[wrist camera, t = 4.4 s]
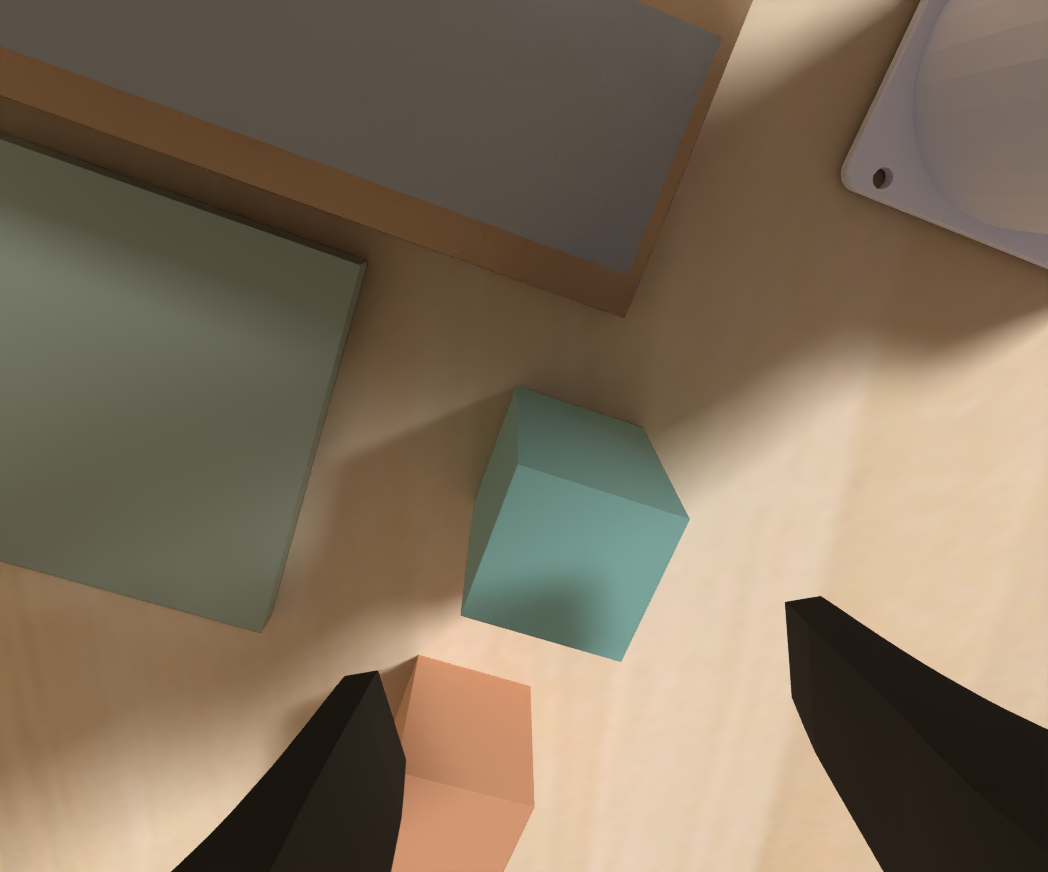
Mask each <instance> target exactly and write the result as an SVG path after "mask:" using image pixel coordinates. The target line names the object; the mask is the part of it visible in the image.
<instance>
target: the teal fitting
mask: <svg viewBox="0 0 1048 872" xmlns="http://www.w3.org/2000/svg"><path fill="white" fill-rule="evenodd" d="M689 520H690V519H689V517H688V515H687V513H686V511H685V509H684V507H683V505H682V503H681V501H680V499H679V497H678V495H677V493H676V492H675V490H674V488H673V486H672V484H671V482H670V480H669V478H668V476H667V474H666V472H665V470H664V468H663V466H662V464H661V462H660V460H659V458H658V456H657V454H656V452H655V450H654V448H653V447H652V445H651V443H650V441H649V439H648V437H647V435H646V433H645V431H644V429H643V428H642V427H639V426H636V425H633V424H630V423H627V422H624V421H621V420H618V419H615V418H612V417H609V416H606V415H603V414H600V413H597V412H594V411H592V410H589V409H586V408H583V407H580V406H577V405H574V404H571V403H568V402H565V401H562V400H559V399H556V398H553V397H550V396H547V395H544V394H541V393H538V392H535V391H532V390H529V389H526V388H523V387H520V386H517V385H516V388H515V391H514V394H513V396H512V399H511V402H510V405H509V407H508V410H507V413H506V416H505V419H504V421H503V424H502V427H501V430H500V432H499V435H498V438H497V441H496V443H495V446H494V449H493V452H492V454H491V457H490V460H489V463H488V465H487V468H486V471H485V474H484V476H483V479H482V482H481V485H480V487H479V490H478V493H477V496H476V498H475V501H474V506H473V515H472V523H471V532H470V540H469V549H468V557H467V565H466V574H465V582H464V591H463V599H462V608H461V616H464V617H467V618H471V619H474V620H478V621H481V622H484V623H488V624H491V625H495V626H498V627H502V628H505V629H509V630H512V631H516V632H519V633H523V634H526V635H530V636H533V637H536V638H540V639H543V640H547V641H550V642H554V643H557V644H561V645H564V646H568V647H571V648H575V649H578V650H581V651H585V652H588V653H592V654H595V655H599V656H602V657H606V658H609V659H613V660H616V661H620V662H621V661H622V659H623V657H624V655H625V653H626V650H627V648H628V646H629V644H630V642H631V640H632V638H633V636H634V634H635V632H636V630H637V628H638V626H639V623H640V621H641V619H642V617H643V615H644V613H645V611H646V609H647V607H648V605H649V603H650V601H651V599H652V596H653V594H654V592H655V590H656V588H657V586H658V584H659V582H660V580H661V578H662V576H663V574H664V572H665V569H666V567H667V565H668V563H669V561H670V559H671V557H672V555H673V553H674V551H675V549H676V547H677V545H678V543H679V540H680V538H681V536H682V534H683V532H684V530H685V528H686V526H687V524H688V522H689Z"/></svg>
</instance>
